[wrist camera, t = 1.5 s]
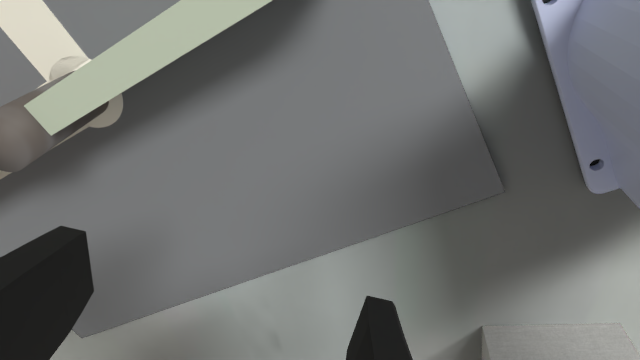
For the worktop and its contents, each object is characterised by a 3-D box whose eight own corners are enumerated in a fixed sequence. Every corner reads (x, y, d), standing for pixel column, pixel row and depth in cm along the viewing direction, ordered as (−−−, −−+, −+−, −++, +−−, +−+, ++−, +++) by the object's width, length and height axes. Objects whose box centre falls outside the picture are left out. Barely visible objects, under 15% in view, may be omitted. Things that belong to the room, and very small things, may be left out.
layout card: (503, 188, 18) (505, 192, 18) (84, 334, 28) (81, 338, 27) (123, -758, 8) (115, -782, 8) (-334, -34, 18) (-346, -34, 17)
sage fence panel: (348, -50, 14) (338, -40, 11) (113, 94, 18) (50, 135, 14) (331, -88, 13) (314, -90, 10) (93, 69, 17) (23, 105, 14)
